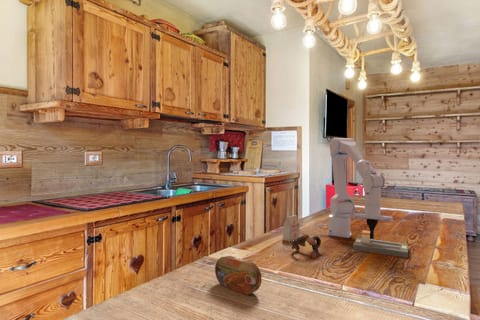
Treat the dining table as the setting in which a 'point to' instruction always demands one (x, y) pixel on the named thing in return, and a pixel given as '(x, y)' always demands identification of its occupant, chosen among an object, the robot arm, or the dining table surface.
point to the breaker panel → (382, 247)
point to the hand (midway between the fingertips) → (371, 238)
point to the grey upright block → (291, 228)
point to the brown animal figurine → (310, 241)
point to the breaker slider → (365, 236)
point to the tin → (238, 274)
